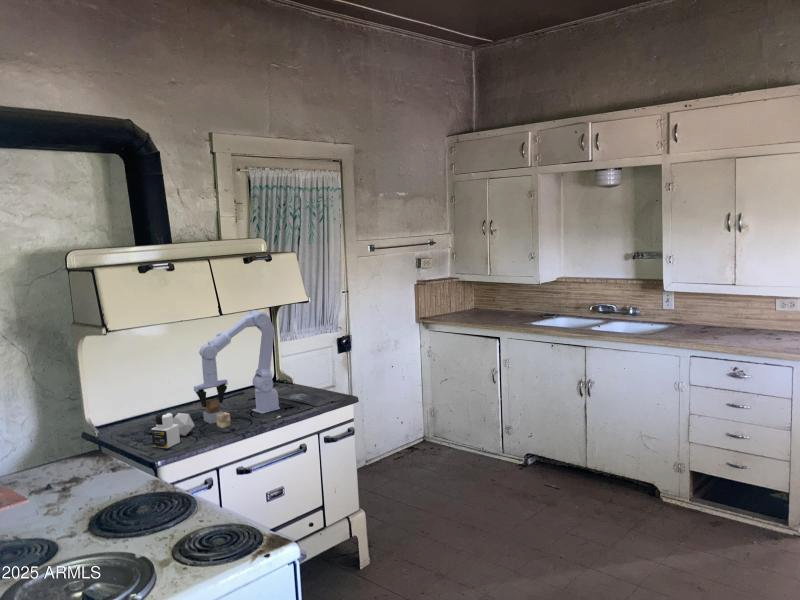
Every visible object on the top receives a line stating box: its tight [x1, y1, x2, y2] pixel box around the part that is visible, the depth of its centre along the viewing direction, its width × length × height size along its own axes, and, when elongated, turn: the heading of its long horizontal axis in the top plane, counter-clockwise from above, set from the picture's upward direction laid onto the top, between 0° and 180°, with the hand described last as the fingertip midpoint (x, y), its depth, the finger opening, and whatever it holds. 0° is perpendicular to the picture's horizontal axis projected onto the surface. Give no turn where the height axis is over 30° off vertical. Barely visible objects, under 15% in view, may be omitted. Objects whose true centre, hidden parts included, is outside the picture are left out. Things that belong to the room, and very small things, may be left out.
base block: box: [202, 410, 224, 424], centre depth 275 cm, size 6×6×4 cm
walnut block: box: [205, 398, 221, 414], centre depth 274 cm, size 4×4×5 cm
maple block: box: [216, 411, 232, 429], centre depth 267 cm, size 4×4×5 cm
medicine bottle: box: [151, 412, 181, 449], centre depth 246 cm, size 7×7×12 cm
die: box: [173, 412, 195, 437], centre depth 258 cm, size 8×9×10 cm
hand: (212, 404), depth 274 cm, fingers open, 7 cm apart
